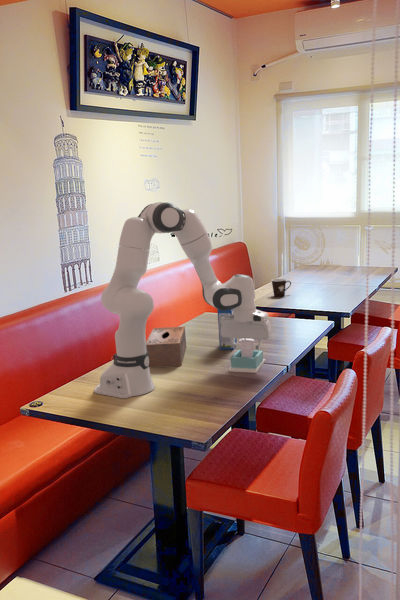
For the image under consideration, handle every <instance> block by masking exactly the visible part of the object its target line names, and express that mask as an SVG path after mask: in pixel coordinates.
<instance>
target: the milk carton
mask: <svg viewBox="0 0 400 600" xmlns="http://www.w3.org/2000/svg"><path fill="white" fill-rule="evenodd" d="M225 314H226V315H234V314H233V309H230V310H226V311H221V310H218V309H217V323H218V324H217V325H218V341H219V350H220V351H234V350H235V348H233V344H232V343H231V341H230V338H223V337H222V336H221V323H220V318H221V316H223V315H225ZM237 339H238V338H235V339H234V341H235V343H237V344H238V341H237Z"/></svg>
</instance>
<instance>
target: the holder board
mask: <svg viewBox="0 0 400 600" xmlns="http://www.w3.org/2000/svg"><path fill="white" fill-rule="evenodd" d="M265 362H266V358H264V350H257V349H255V350H254V349H253V358H247V357H242V355H241V350H240V349H237V350H236V352H234V353H233V354H232V356H231V357H230V367H229V368H228V372H237V373H254V374H255V373H257V372H258V371H259V370H260V369H261V367H262V366H263V365H264V364H265Z"/></svg>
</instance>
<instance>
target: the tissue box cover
mask: <svg viewBox="0 0 400 600" xmlns="http://www.w3.org/2000/svg"><path fill="white" fill-rule="evenodd" d="M146 348H147V351H148V356H149V368H161V367H162V368H163V367H164V366H165V367H180V366H182V365H183V362H184V357H185V353H186V350H187V340H186V327H185V326H184V325H183V326H169V327H153V328H152V329H151V331H150V334H149V335H148V338H146Z"/></svg>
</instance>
